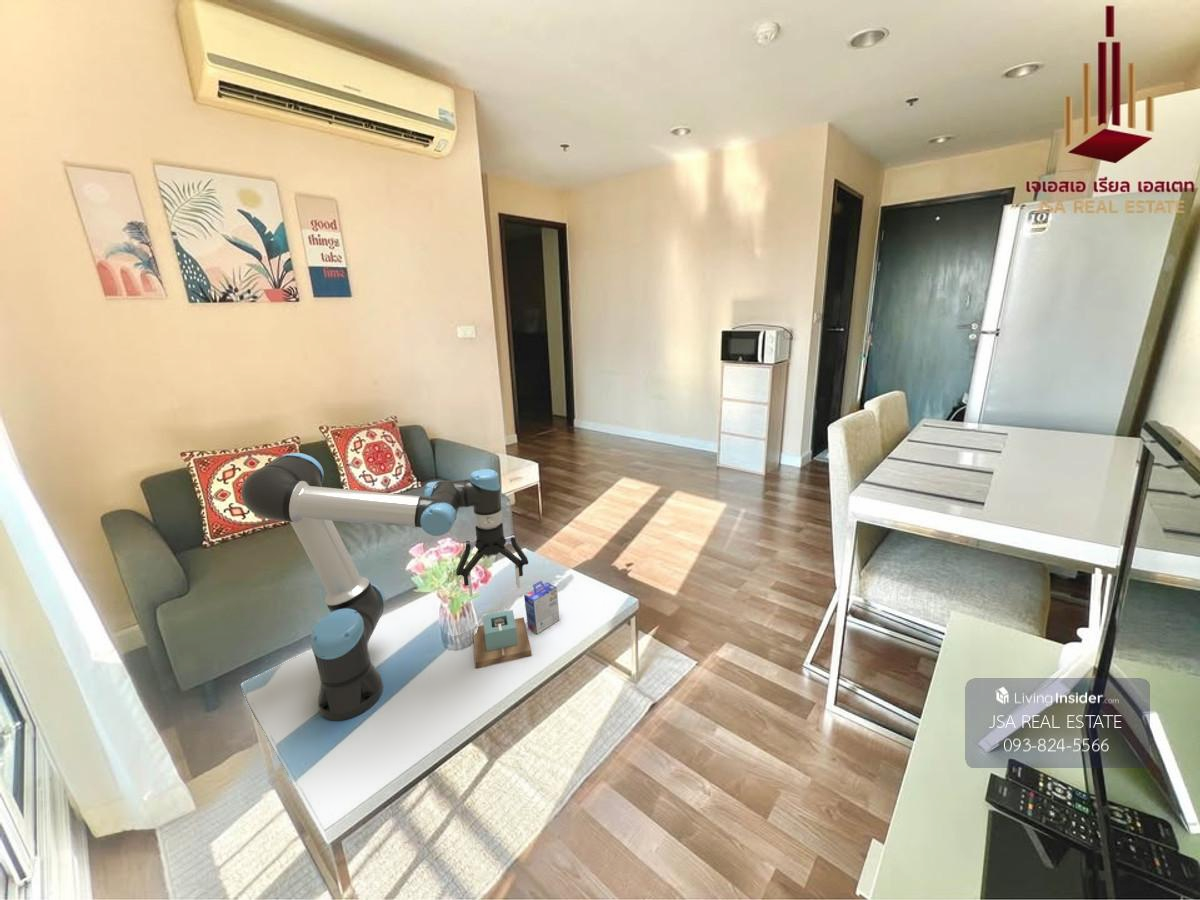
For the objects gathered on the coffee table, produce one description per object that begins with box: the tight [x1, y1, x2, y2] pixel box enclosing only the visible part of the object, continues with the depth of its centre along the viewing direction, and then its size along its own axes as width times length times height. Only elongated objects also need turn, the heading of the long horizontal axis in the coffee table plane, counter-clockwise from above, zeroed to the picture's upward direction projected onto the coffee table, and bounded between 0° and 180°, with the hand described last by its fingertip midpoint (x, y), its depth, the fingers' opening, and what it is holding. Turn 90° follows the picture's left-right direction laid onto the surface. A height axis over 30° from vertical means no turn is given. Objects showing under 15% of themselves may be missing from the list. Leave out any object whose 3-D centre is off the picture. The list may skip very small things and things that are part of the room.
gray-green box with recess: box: [482, 609, 518, 651], centre depth 140 cm, size 9×9×6 cm
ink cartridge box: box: [523, 580, 560, 635], centre depth 148 cm, size 10×6×14 cm, turn 137°
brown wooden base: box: [473, 616, 533, 669], centre depth 140 cm, size 16×16×8 cm
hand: (495, 589), depth 136 cm, fingers open, 13 cm apart
